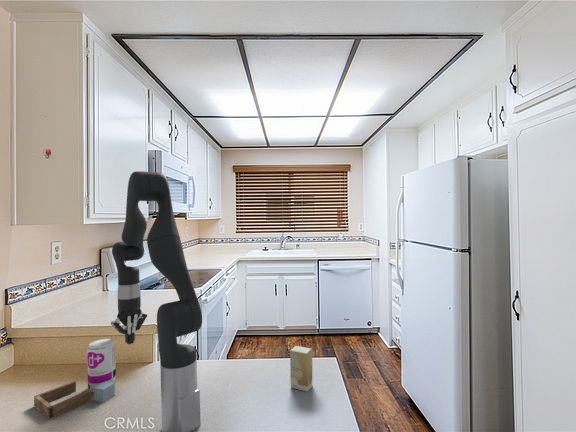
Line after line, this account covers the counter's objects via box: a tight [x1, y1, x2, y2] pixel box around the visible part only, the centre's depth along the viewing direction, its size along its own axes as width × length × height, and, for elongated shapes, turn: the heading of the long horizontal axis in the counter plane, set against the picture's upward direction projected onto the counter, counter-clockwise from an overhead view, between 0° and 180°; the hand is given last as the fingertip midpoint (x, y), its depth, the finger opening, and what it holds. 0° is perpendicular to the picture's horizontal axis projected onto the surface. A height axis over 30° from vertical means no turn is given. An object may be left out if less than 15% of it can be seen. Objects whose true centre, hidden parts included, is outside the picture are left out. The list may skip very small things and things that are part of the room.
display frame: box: [33, 380, 92, 420], centre depth 98 cm, size 12×11×3 cm
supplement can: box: [86, 338, 117, 393], centre depth 108 cm, size 8×8×15 cm
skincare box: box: [289, 345, 313, 393], centre depth 103 cm, size 6×4×12 cm
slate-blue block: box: [93, 382, 116, 403], centre depth 100 cm, size 4×4×4 cm
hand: (130, 343), depth 116 cm, fingers closed
